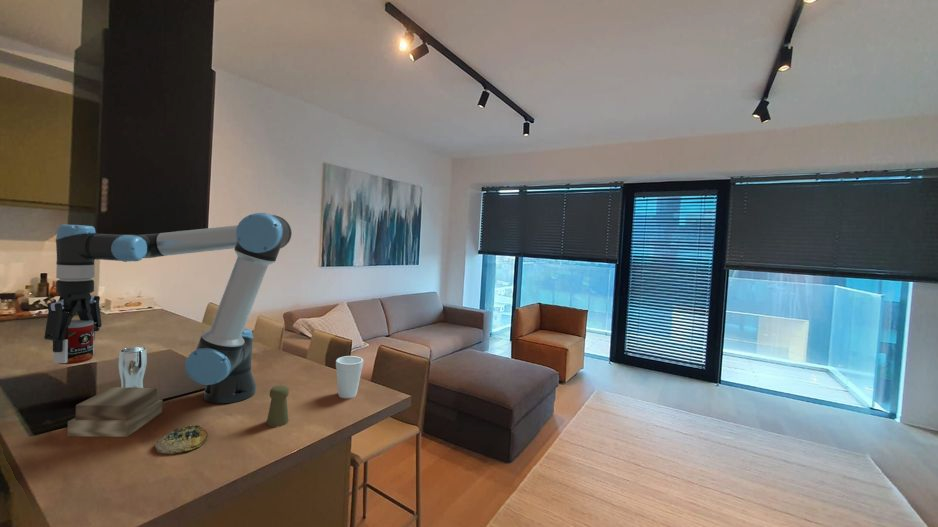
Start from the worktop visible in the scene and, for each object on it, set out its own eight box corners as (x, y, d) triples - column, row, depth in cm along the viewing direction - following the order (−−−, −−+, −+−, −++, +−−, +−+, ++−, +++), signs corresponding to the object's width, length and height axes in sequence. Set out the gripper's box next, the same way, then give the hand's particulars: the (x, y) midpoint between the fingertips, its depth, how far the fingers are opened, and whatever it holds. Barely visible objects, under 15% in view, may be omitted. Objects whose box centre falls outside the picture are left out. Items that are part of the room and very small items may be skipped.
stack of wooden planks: (162, 412, 114) (163, 386, 114) (127, 436, 100) (127, 407, 100) (110, 411, 112) (111, 385, 112) (67, 436, 98) (68, 406, 98)
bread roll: (200, 428, 107) (201, 412, 106) (213, 449, 100) (214, 433, 99) (150, 443, 99) (151, 427, 98) (160, 468, 92) (160, 450, 91)
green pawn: (293, 420, 116) (295, 385, 115) (277, 428, 110) (279, 392, 110) (278, 415, 118) (279, 381, 117) (261, 423, 112) (263, 388, 112)
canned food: (68, 366, 103) (68, 327, 103) (46, 362, 105) (46, 323, 104) (100, 358, 111) (101, 321, 110) (80, 354, 112) (80, 318, 112)
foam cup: (364, 391, 142) (367, 357, 141) (354, 401, 132) (357, 365, 132) (340, 388, 142) (343, 354, 142) (329, 398, 133) (331, 362, 133)
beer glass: (117, 399, 120) (118, 353, 119) (118, 392, 125) (119, 347, 124) (145, 395, 124) (147, 351, 123) (145, 387, 129) (147, 345, 129)
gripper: (92, 274, 116) (90, 346, 117) (22, 282, 96) (22, 370, 97) (119, 276, 117) (117, 347, 119) (55, 284, 97) (55, 370, 98)
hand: (74, 357), depth 108 cm, fingers closed on canned food, 8 cm apart
